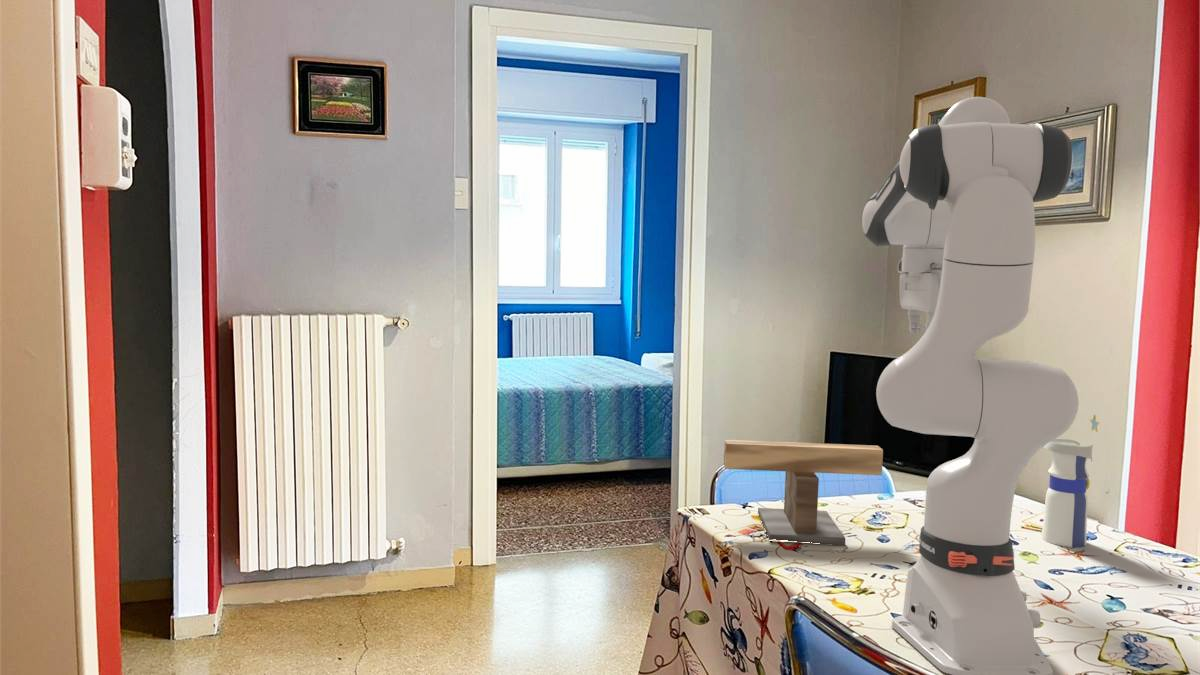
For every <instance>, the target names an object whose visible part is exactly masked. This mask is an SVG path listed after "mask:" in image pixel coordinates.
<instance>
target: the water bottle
mask: <svg viewBox="0 0 1200 675" xmlns="http://www.w3.org/2000/svg"><path fill="white" fill-rule="evenodd" d="M1089 422H1090V423H1091V431H1095V432H1096V433H1098V425H1099V424H1100V421H1098V420H1097V417H1096V414H1094V415H1093V418H1092V419H1090V421H1089ZM1093 447H1094V446H1093V444H1091V445H1090V446H1089V445H1088V446H1081V442H1079V441H1077V440H1074V439H1069V438H1056V439H1054V440H1052V441H1050V442H1049V443H1048V444H1046V445H1045V446H1043V448H1044V449H1045V450H1047V451H1050V452H1051V458H1052V462H1051V466H1050V467H1049V469H1048V470H1047V472H1048V474H1049V484H1048V485H1049V486H1048V488H1047V490H1046V494H1045V502H1044V513H1043V514H1044V515H1043V522H1042V523H1043V524H1042V528H1041V529H1042V531H1041V539H1042V541H1044V542H1046V543H1049V544H1053V545H1057V546H1061V547H1062V546H1063V547H1068V548H1069V547H1070V548H1082V547H1083V548H1084V547H1085V546H1087V527H1088V526H1087V522H1088V508H1089V507H1088V505H1089V502H1088V501H1089V500H1088V494H1087V491H1088V490H1089V487H1090V484H1091V483H1090V479H1089V477H1090V474H1089V473H1088V471H1087V461H1088V459H1089V460H1091V462H1093Z"/></svg>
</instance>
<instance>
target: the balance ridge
mask: <svg viewBox="0 0 1200 675" xmlns="http://www.w3.org/2000/svg"><path fill="white" fill-rule="evenodd" d="M816 474H817V473H812V472H788V471H785V478H784V480H785V481H784V502H783V503H784V504H783V508H767V507H765V508H764V507H758V509H757V511H758V512H757V515H758V514H759V516H758V518H759V517H760V519H761V521H762V523H761V525H762V524H763V526H764V528H765V530H766V532H767V535H768V537H769V539H776V540H788V541H797V542H810V543H811V542H812V543H820V544H832V545H831V546H841V545H845V546H846V537H845V535H844V534H843V532H842V531H841V529H840V528H839V526H838V525H837V524H836V523H835V521H834V519H833V518H832V516H830V514H829V513H828V512H827V510H818V507H819V506H818V505H819V504H818V502H819V484H820V483H819V477H818V476H817V475H816ZM760 519H759V520H760ZM761 521H760V522H761ZM763 526H762V527H763ZM764 528H763V529H764ZM767 535H766V536H767ZM820 544H819V545H820Z"/></svg>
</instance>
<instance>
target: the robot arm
mask: <svg viewBox="0 0 1200 675" xmlns="http://www.w3.org/2000/svg"><path fill="white" fill-rule="evenodd" d="M1073 152H1074V151H1073V146H1072V141H1071V139H1070V137H1069V136H1068V135H1067V133H1066V132H1064V130H1062V129H1061V128H1059V127H1057V126H1053V125H1050V124H1049V125H1048V124H1044V123H1038V122H1037V123H1029V124H1025V123H1022V124H1021V123H1011V122H1010V117H1009V115H1008V113H1007V111H1006V109H1005V108H1004V106H1002V104H1001V103H999V102H997V101H996V100H994V99H992V98H989V97H983V96H972V97H968V98H963V99H962V100H960V101H957V102H956V103H955V104H953V105H952V106H951V107H950V108H949V109H948V110H947V112H946V113H945V114H944V116H942V118H941V119H940V120H939V121H938V123H935V124H929V125H925V126H920V127H918V128H915V129H913V131H912V132H910V134H909V135H908V137H907V139H906V142H905V144H904V146H903V148H902V150H901V152H900V158H899V161H898V162H897V164H896V165H895V166H894V167H893V169H892V170H891V172H890V173H889V174H888V176H887V177H886V179H885V180H884V181H883V183H882V185H881V186H880V188H879V189H878V190H877V191H876V192H875V193H874V194H873V195H871V196H870V198H869V199H868V200H867V201H866V204H865V206H864V208H863V211H862V216H861V217H862V218H861V219H862V220H861V221H862V222H861V223H862V224H861V226H862V230H863V235H864V236H865V237H866V238H867V240H868V241H870V242H871V243H872V244H873V245H875V246H876V247H886V246H903V247H902V256H901V259H900V260H899V261H898V263H897V273H899V274H900V276H899V304H900V307H901V309H903V310H907V316H908V322H909V332H910V333H912V334H915V333H916V334H919V333H920V332H921V328H922V327H921V326H922V324H921V322H920V321H921V320H920V318H921V315H922V314H921V313H922V312H926V313H925V318H926V321H925V325H924V329H923V331H924V332H923V335H922V336H921V337H920V339H919V340H918V341H917V342H916V343H915V344H914V345H913V346H912V347H911V348H910V349H908V350H907V351H906V352H905V353H903V354H902V355H901V356H898V357H897V358H895V359H893V360H892V361H890V363H888V365H887V366H885V368H884V369H883V371H882V372H881V374H880V376H879V378H878V380H877V385H876V388H875V390H876V392H875V394H876V395H875V396H876V402H877V406H878V409H879V411H880V413H881V415H882V416H883V418H884V419H885V421H886V422H887V423H888V424H890V426H892V427H895V428H898V429H903V430H906V431H912V432H914V433H919V434H924V435H935V436H936V435H938V436H939V435H940V436H956V437H970V438H974V440H973V444H972V446H971V447H970V448H969V450H968V451H966V453H965V454H963V455H961V456H959V457H957V458H955V459H952V460H948V461H946V462H944V463H942V464H939V465H938V466H937V467H936V468H934V470H932V471H931V473H930V474H929V476H928V478H927V480H926V487H925V500H924V501H925V505H924V520H923V521H924V522H923V524H924V525H923V526H922V527H921V528H920V533H919V534H920V535H919V537H918V538H919V539H918V544H919V549H918V552H919V554H920V556H919V558H918V560H917V561H916V562H915V563H914V564H913V565H912V566H911V567H910V568H909V569H908V571H907V575H906V576H907V577H906V582H905V592H904V600H903V608H902V609H903V610H902V615H898V616H896V617H893V618H892V621H891V622H892V623H891V627H892V629H894V630H895V631H896V632H897V633H898V634H899V635H900V636H902V637H903V638H904V639H905V640H906V641H907V642H909V644H911V645H912V646H913V647H914V648H915V649H916V650H917V651H918V652H920V653H921V655H923V656H924V657H925V658H926V659H927V660H928V661H929V662H931V664H933V665H934V666H935V667H936V668H938V670H939V671H941V672H943V673H946V674H948V675H1054V671H1053V668H1052V667H1051V665H1050V663H1049V660H1047V658H1046V656H1045V654H1044V653H1043V650H1042V649H1041V647H1040V645H1039V644H1038V642H1037V640H1036V638H1035V631H1034V630H1035V629H1039V628H1040V626H1041V614H1040V612H1039V610H1037V609H1030V608H1028V606H1027V603H1026V602H1027V598H1028V597H1027V596H1028V594H1027V592H1026V591H1023V590H1021V588H1020V586H1019V583H1018V581H1017V578H1016V575H1015V574H1014V570H1015V559H1014V558H1015V550H1014V546H1013V541H1012V539H1011V537H1010V532H1011V519H1012V512H1013V505H1014V498H1015V493H1016V488H1017V484H1018V481H1019V479H1020V477H1021V475H1022V473H1023V471H1024V469H1025V467H1026V466H1027V465H1028V463H1029V462H1030V461H1031V460H1032V458H1033V457H1034V456H1035V455H1036V454H1037V453H1038V452H1039V451H1040V450H1042V448H1044V446H1045V445H1046V444H1048V443H1049V442H1050V441H1052V440H1054V439H1058V438H1059V437H1061V436H1062V435H1064V434H1065V433H1066V432H1067V431H1068V430H1069V429H1070V427H1071V426H1072V425H1073V423H1074V421H1075V419H1076V417H1077V415H1078V414H1077V413H1078V410H1079V395H1078V391H1077V387H1076V385H1075V383H1074V381H1073V379H1071V377H1070V376H1069V374H1067V373H1066V371H1065V370H1064V369H1062V368H1060V367H1057V366H1052V365H1047V364H1045V363H1038V362H1034V361H1029V360H1021V359H1020V360H1018V359H1017V360H1016V359H995V358H994V359H993V358H977V357H976V355H977V353H978V351H979V350H980V349H981V348H982V347H983V346H984V345H985V344H986V343H987V342H989V341H991V340H993V339H996V338H997V337H1001V336H1003V335H1005V334H1006V335H1007V333H1010V332H1012V331H1013V330H1015V329H1016V328H1017V327H1018V326H1020V324H1022V322H1024V320H1025V318H1026V317H1027V315H1028V312H1029V305H1030V299H1031V298H1030V297H1031V287H1032V279H1033V270H1034V261H1035V249H1036V218H1035V217H1036V216H1035V206H1034V203H1039V202H1043V201H1048V200H1052V199H1055V198H1056V197H1058V196H1059V195H1060V194H1061V192H1063V190H1064V189H1065V188H1066V186H1067V184H1068V182H1069V178H1070V176H1071V174H1072V172H1073V171H1072V169H1073V166H1074V153H1073Z"/></svg>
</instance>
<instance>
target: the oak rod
mask: <svg viewBox="0 0 1200 675" xmlns="http://www.w3.org/2000/svg"><path fill="white" fill-rule="evenodd" d="M723 446H724V448H723V451H724V452H723V466H724V468H725V470H741V471H742V470H743V471H763V472H764V471H765V472H766V471H769V472H786V471H788V472H812V473H815V474H817V473H818V474H837V475H838V474H839V475H860V476H861V475H862V476H864V475H865V476H866V475H867V476H883V459H884V458H883V457H884V450H883V448H881V446H879V445H871V444H870V445H867V444H845V443H844V444H843V443H814V442H792V441H771V440H770V441H767V440H764V441H763V440H740V439H724V445H723Z"/></svg>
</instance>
